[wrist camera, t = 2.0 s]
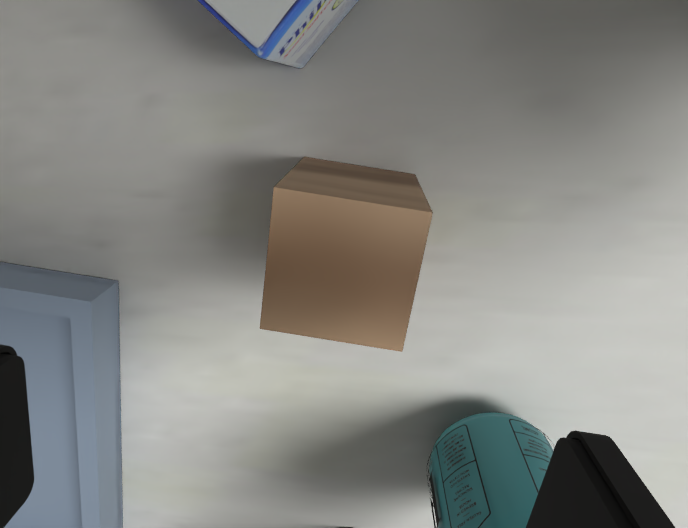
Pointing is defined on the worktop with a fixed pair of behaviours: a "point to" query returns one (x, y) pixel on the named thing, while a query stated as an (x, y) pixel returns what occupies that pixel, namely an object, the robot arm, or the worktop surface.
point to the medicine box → (281, 25)
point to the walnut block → (344, 253)
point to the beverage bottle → (487, 472)
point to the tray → (67, 393)
